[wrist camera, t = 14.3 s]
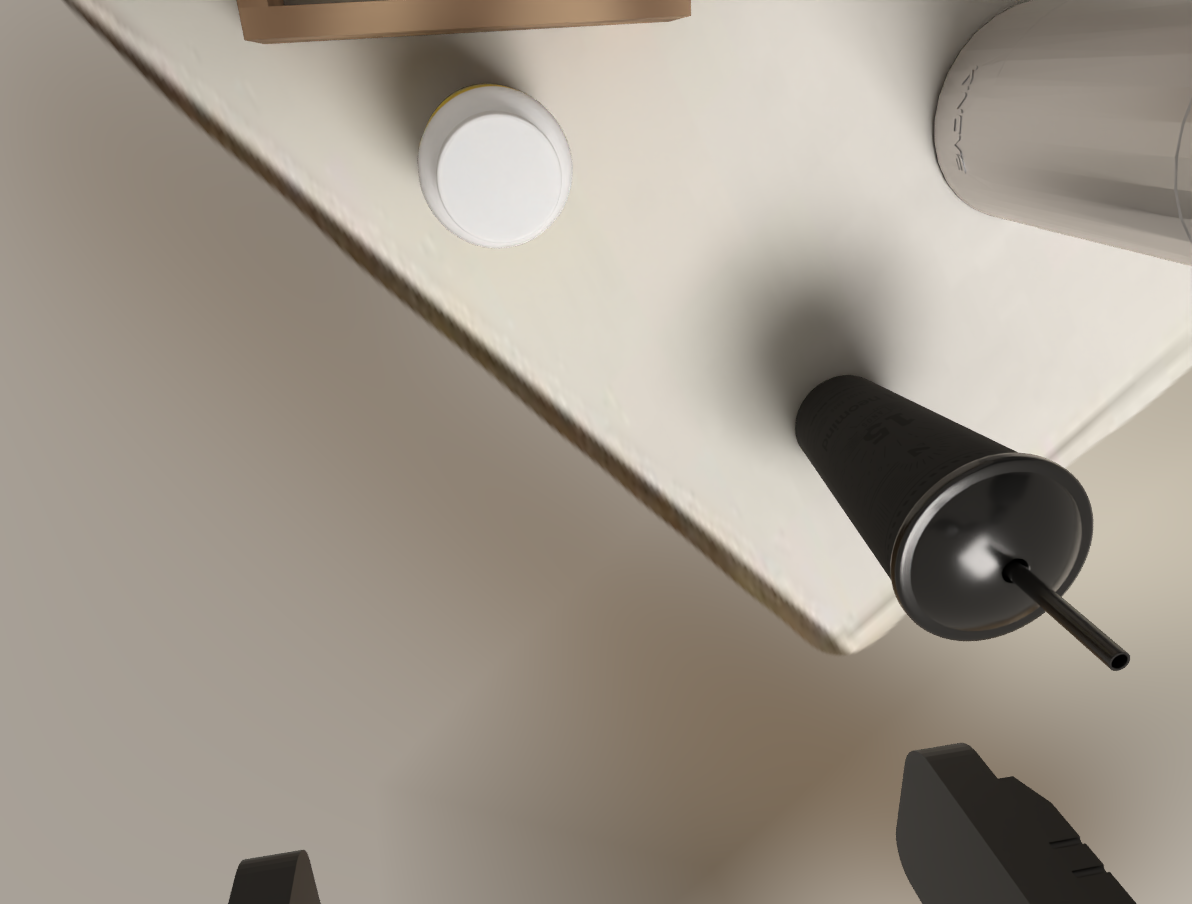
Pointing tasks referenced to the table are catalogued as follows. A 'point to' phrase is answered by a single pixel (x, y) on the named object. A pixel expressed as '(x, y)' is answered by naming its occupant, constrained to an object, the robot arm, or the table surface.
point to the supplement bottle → (494, 166)
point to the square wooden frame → (439, 17)
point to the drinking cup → (953, 514)
